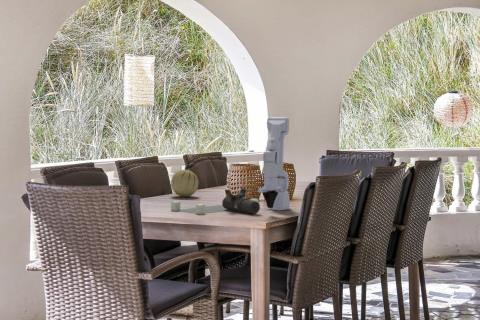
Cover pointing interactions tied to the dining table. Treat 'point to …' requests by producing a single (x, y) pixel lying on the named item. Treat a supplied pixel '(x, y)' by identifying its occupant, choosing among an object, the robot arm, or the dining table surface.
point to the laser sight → (240, 203)
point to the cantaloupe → (184, 183)
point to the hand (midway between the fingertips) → (270, 207)
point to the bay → (207, 209)
